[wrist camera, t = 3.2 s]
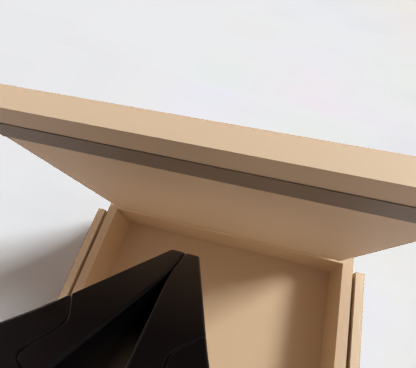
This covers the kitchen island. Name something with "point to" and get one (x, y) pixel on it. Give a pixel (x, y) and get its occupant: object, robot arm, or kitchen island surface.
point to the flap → (222, 173)
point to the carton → (240, 290)
